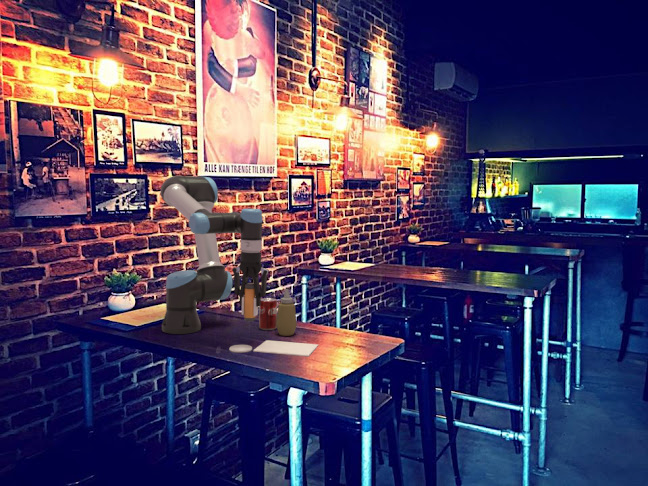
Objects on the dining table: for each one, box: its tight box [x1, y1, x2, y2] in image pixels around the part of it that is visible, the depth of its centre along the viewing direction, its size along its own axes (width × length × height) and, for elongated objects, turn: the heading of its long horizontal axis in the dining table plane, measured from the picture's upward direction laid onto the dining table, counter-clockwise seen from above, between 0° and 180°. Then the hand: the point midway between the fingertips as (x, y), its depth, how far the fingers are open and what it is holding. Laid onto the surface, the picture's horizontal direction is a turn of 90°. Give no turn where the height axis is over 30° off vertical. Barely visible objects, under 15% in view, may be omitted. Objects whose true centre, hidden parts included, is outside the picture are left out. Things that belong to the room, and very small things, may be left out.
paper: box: [252, 339, 319, 357], centre depth 191 cm, size 20×14×1 cm
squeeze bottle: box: [276, 288, 298, 337], centre depth 210 cm, size 8×8×18 cm
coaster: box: [229, 344, 253, 354], centre depth 189 cm, size 8×8×1 cm
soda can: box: [258, 297, 278, 331], centre depth 220 cm, size 7×7×12 cm
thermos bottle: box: [243, 282, 256, 322], centre depth 197 cm, size 4×4×14 cm
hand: (249, 314), depth 197 cm, fingers closed on thermos bottle, 4 cm apart
